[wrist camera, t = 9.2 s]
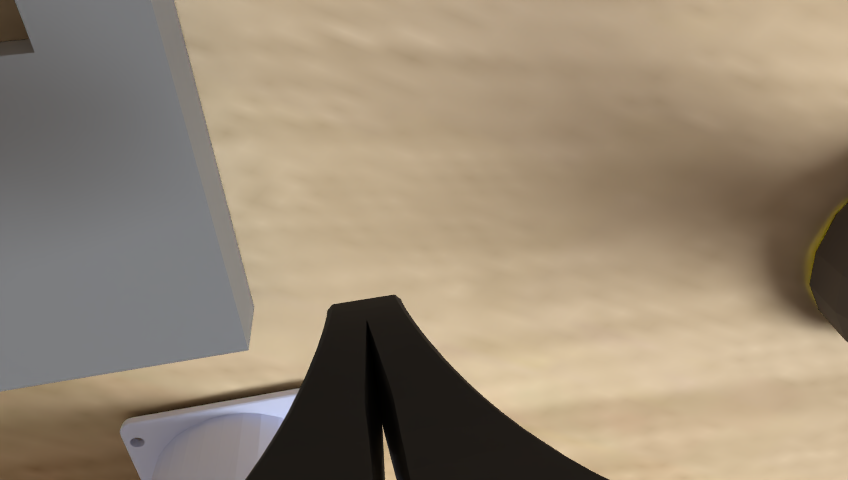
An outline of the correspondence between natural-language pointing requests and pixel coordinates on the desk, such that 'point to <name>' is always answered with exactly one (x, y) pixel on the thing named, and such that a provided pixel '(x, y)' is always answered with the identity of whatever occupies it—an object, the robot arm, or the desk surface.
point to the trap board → (110, 199)
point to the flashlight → (833, 274)
